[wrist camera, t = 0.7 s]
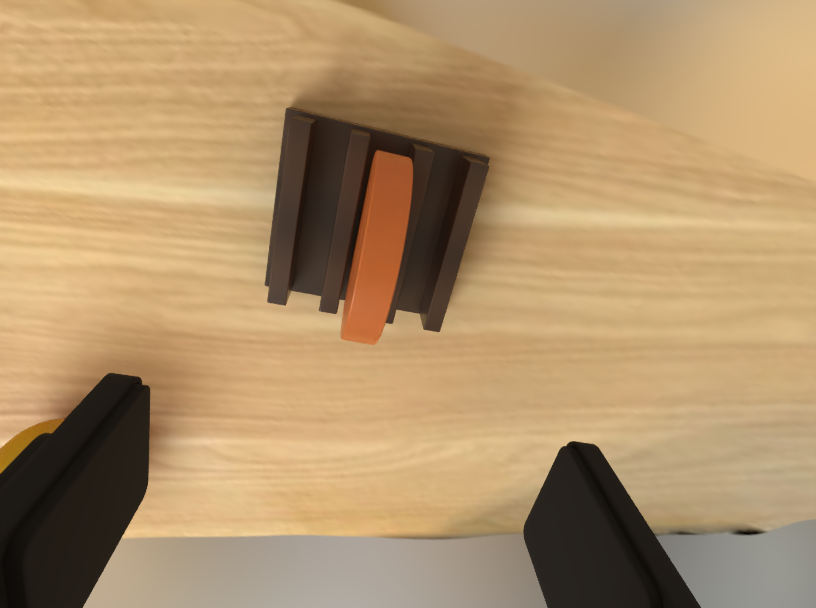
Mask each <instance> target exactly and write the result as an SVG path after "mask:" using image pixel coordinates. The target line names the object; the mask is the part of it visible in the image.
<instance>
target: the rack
mask: <svg viewBox="0 0 816 608" xmlns="http://www.w3.org/2000/svg"><path fill="white" fill-rule="evenodd" d="M377 150H380V151H384V152H388V153H393V154H397V155H401V156H405V157H409V158H410V159H411V160H412V164H413V187H412V198H411V206H410V214H409V221H408V227H407V233H406V239H405V245H404V250H403V255H402V260H401V265H400V270H399V274H398V279H397V283H396V287H395V291H394V295H393V299H392V303H391V306H390V310H389V313H388V317H387V320H386V323H389V324H392V323H393V320H394V316H395V312H396V310H402V311H407V312H413V313H419V314H420V316H421V320H422V325H423V329H424V330H429V331H435V332H440V329H441V326H442V323H443V319H444V316H445V313H446V309H447V306H448V303H449V299H450V296H451V293H452V289H453V286H454V283H455V279H456V276H457V273H458V269H459V266H460V263H461V259H462V256H463V252H464V249H465V246H466V242H467V239H468V236H469V232H470V229H471V226H472V222H473V219H474V216H475V212H476V209H477V206H478V202H479V199H480V196H481V192H482V189H483V186H484V182H485V179H486V176H487V172H488V169H489V166H488V163H489V159H490V158H489V157H488V156H486V155H483V154H479V153H474V152H470V151H466V150H462V149H458V148H454V147H450V146H446V145H442V144H438V143H434V142H430V141H426V140H422V139H418V138H413V137H409V136H405V135H401V134H397V133H393V132H389V131H385V130H381V129H377V128H373V127H369V126H365V125H361V124H356V123H352V122H348V121H344V120H340V119H336V118H332V117H328V116H324V115H320V114H316V113H312V112H308V111H304V110H300V109H295V108H291V107H289V108H286V113H285V122H284V130H283V138H282V146H281V155H280V163H279V171H278V180H277V188H276V196H275V205H274V213H273V221H272V230H271V238H270V246H269V255H268V263H267V271H266V280H265V286H269V292H268V300H267V302H268V303H274V304H279V305H286V303H287V301H288V298H289V295H290V292H291V291H296V292H302V293H307V294H313V295H319V296H321V301H320V307H319V311H321V312H327V313H332V314H336V313H337V310H338V305H339V300H340V299H341V300H345V297H346V291H347V285H348V279H349V273H350V267H351V262H352V256H353V251H354V245H355V240H356V235H357V230H358V224H359V219H360V214H361V210H362V205H363V200H364V195H365V190H366V186H367V181H368V177H369V173H370V169H371V165H372V161H373V158H374V154H375V152H376V151H377Z"/></svg>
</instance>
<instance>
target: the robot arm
mask: <svg viewBox="0 0 816 608" xmlns="http://www.w3.org/2000/svg"><path fill="white" fill-rule="evenodd" d="M149 425H150V387H149V386H147V385H142V380H141V378H139V377H135V376H128V375H122V374H115V373H109V374H107V375H106V376H105V377H104V378H103V379H102V380H101V381H100V382H99V383H98V384H97V385H96V386H95V387H94V389H93V390H92V391H91V392H90V393H89V394H88V395H87V396H86V397H85V398H84V399H83V400H82V402H81V403H80V404H79V405H78V406H77V407H76V408H75V409H74V410H73V411H72V412H71V413H70V414H69V416H68V417H67V418H66V419H65V420H64V421H63V422H62V423H61V424H60V425H59V426H58V427H57V428H56V430H55V431H54V432H53V433H43V434H40V435H38V436H37V437H36V438H35V439H34V440H32V441H31V442H30V443H29V444H28V446H27V447H26V448H25V449H24V450H23V451H22V452H21V453H20V454H19V455H18V456H17V457H16V458H15V459H14V460H13V461H12V462H11V463H10V464H9V465H8V466H7V467H6V468H5V469H4V470H3V471H2V472H1V474H0V608H83V606H84V604H85V602H86V601H87V599H88V597H89V595H90V593H91V592H92V590H93V588H94V586H95V584H96V583H97V581H98V579H99V577H100V575H101V574H102V572H103V570H104V568H105V566H106V565H107V563H108V561H109V559H110V557H111V556H112V554H113V552H114V550H115V548H116V546H117V545H118V543H119V541H120V539H121V538H122V536H123V534H124V532H125V530H126V529H127V527H128V525H129V523H130V521H131V520H132V518H133V516H134V514H135V512H136V511H137V509H138V507H139V505H140V503H141V502H142V500H143V498H144V495H145V493H146V490H147V486H148V473H149ZM524 540H525V543H526V546H527V549H528V552H529V555H530V557H531V560H532V563H533V565H534V569H535V572H536V575H537V578H538V581H539V584H540V586H541V590H542V592H543V595H544V598H545V601H546V604H547V607H548V608H701V607H700V605H699V604H698V602H697V601H696V599H695V597H694V596H693V594H692V593H691V591H690V590H689V588H688V587H687V585H686V583H685V582H684V580H683V579H682V577H681V576H680V574H679V573H678V571H677V569H676V568H675V566H674V565H673V563H672V562H671V560H670V558H669V557H668V555H667V554H666V552H665V551H664V549H663V548H662V546H661V544H660V543H659V541H658V540H657V538H656V537H655V535H654V533H653V532H652V530H651V529H650V527H649V526H648V524H647V523H646V521H645V519H644V518H643V516H642V515H641V513H640V512H639V510H638V508H637V507H636V505H635V504H634V502H633V501H632V499H631V498H630V496H629V494H628V493H627V491H626V490H625V488H624V487H623V485H622V483H621V482H620V480H619V479H618V477H617V476H616V474H615V473H614V471H613V469H612V468H611V466H610V465H609V463H608V462H607V460H606V458H605V457H604V455H603V454H602V452H601V451H600V449H599V448H598V447H597V446H596V445H594V444H588V443H581V442H575V441H572V442H569V443H568V444H567V446H563V447H562V448H561V449H560V450H559V452H558V455H557V457H556V459H555V461H554V463H553V465H552V467H551V469H550V471H549V474H548V476H547V478H546V480H545V482H544V484H543V486H542V488H541V491H540V493H539V495H538V497H537V499H536V501H535V503H534V505H533V507H532V510H531V512H530V514H529V516H528V518H527V520H526V522H525V525H524Z"/></svg>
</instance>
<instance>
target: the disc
mask: <svg viewBox="0 0 816 608" xmlns="http://www.w3.org/2000/svg"><path fill="white" fill-rule="evenodd" d="M412 187H413V164H412V160H411V159H410V158H409V157H405V156H401V155H397V154H393V153H388V152H384V151H380V150H377V151H376V152H375V154H374V158H373V161H372V165H371V169H370V173H369V177H368V181H367V186H366V190H365V195H364V200H363V205H362V210H361V214H360V219H359V224H358V230H357V235H356V240H355V245H354V251H353V256H352V262H351V267H350V273H349V279H348V285H347V291H346V297H345V304H344V310H343V318H342V326H341V339H342V340H347V341H353V342H359V343H365V344H371V345H374V344H376V343H377V341H378V340H379V338H380V336H381V333H382V331H383V328H384V326H385V323H386V320H387V317H388V313H389V310H390V306H391V303H392V299H393V295H394V291H395V287H396V283H397V279H398V274H399V270H400V265H401V260H402V255H403V250H404V245H405V239H406V233H407V227H408V221H409V214H410V206H411V198H412Z"/></svg>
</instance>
